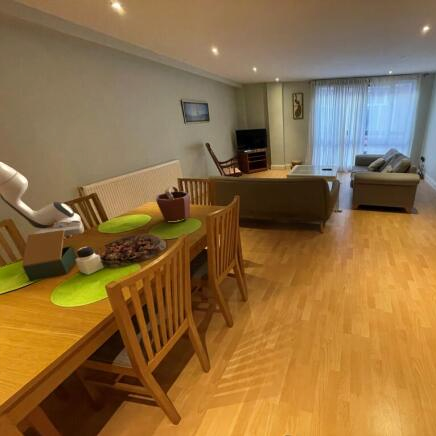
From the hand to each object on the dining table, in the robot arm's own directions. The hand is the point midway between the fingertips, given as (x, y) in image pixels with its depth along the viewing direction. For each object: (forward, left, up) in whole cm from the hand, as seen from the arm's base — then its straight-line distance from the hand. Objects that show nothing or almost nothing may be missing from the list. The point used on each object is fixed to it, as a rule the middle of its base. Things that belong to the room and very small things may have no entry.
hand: (54, 237), depth 124 cm
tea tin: (-3, -10, -13) cm, 16 cm away
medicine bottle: (+10, -24, -13) cm, 29 cm away
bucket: (+66, +15, -13) cm, 69 cm away
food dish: (+29, -18, -13) cm, 36 cm away
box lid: (-4, -10, 0) cm, 11 cm away
